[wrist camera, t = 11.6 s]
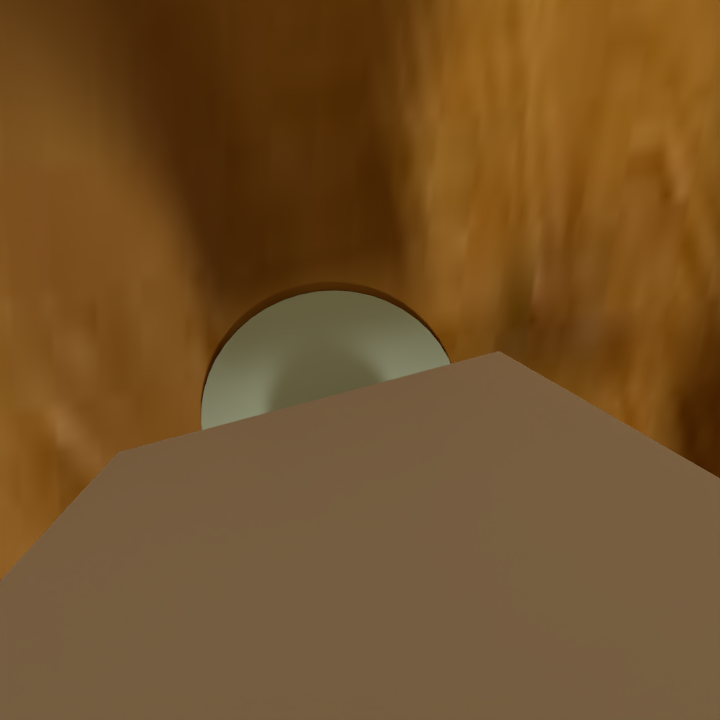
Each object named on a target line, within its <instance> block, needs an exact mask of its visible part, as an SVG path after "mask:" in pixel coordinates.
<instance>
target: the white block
mask: <svg viewBox="0 0 720 720" xmlns="http://www.w3.org/2000/svg"><path fill="white" fill-rule="evenodd" d="M0 720H720V478H718V477H717V476H715V475H713V474H711V473H710V472H708V471H706V470H705V469H703V468H701V467H699V466H698V465H696V464H694V463H692V462H691V461H689V460H687V459H685V458H684V457H682V456H680V455H679V454H677V453H675V452H673V451H672V450H670V449H668V448H666V447H665V446H663V445H661V444H659V443H658V442H656V441H654V440H653V439H651V438H649V437H647V436H646V435H644V434H642V433H640V432H639V431H637V430H635V429H633V428H632V427H630V426H628V425H626V424H625V423H623V422H621V421H620V420H618V419H616V418H614V417H613V416H611V415H609V414H607V413H606V412H604V411H602V410H600V409H599V408H597V407H595V406H594V405H592V404H590V403H588V402H587V401H585V400H583V399H581V398H580V397H578V396H576V395H574V394H573V393H571V392H569V391H567V390H566V389H564V388H562V387H561V386H559V385H557V384H555V383H554V382H552V381H550V380H548V379H547V378H545V377H543V376H541V375H540V374H538V373H536V372H535V371H533V370H531V369H529V368H528V367H526V366H524V365H522V364H521V363H519V362H517V361H515V360H514V359H512V358H510V357H508V356H507V355H505V354H503V353H502V352H500V351H497V352H494V353H490V354H486V355H482V356H479V357H475V358H471V359H467V360H464V361H460V362H456V363H452V364H449V365H445V366H441V367H437V368H434V369H430V370H426V371H422V372H418V373H415V374H411V375H407V376H403V377H400V378H396V379H392V380H388V381H385V382H381V383H377V384H373V385H370V386H366V387H362V388H358V389H355V390H351V391H347V392H343V393H340V394H336V395H332V396H328V397H324V398H321V399H317V400H313V401H309V402H306V403H302V404H298V405H294V406H291V407H287V408H283V409H279V410H276V411H272V412H268V413H264V414H261V415H257V416H253V417H249V418H245V419H242V420H238V421H234V422H230V423H227V424H223V425H219V426H215V427H212V428H208V429H204V430H200V431H197V432H193V433H189V434H185V435H182V436H178V437H174V438H170V439H167V440H163V441H159V442H155V443H151V444H148V445H144V446H140V447H136V448H133V449H129V450H125V451H121V452H118V453H117V454H116V455H115V456H114V457H113V458H112V459H111V460H110V461H109V463H108V464H107V465H106V466H105V467H104V468H103V469H102V470H101V471H100V472H99V473H98V475H97V476H96V477H95V478H94V479H93V480H92V481H91V482H90V483H89V484H88V485H87V487H86V488H85V489H84V490H83V491H82V492H81V493H80V494H79V495H78V496H77V497H76V499H75V500H74V501H73V502H72V503H71V504H70V505H69V506H68V507H67V508H66V509H65V511H64V512H63V513H62V514H61V515H60V516H59V517H58V518H57V519H56V520H55V521H54V523H53V524H52V525H51V526H50V527H49V528H48V529H47V530H46V531H45V532H44V533H43V535H42V536H41V537H40V538H39V539H38V540H37V541H36V542H35V543H34V544H33V545H32V547H31V548H30V549H29V550H28V551H27V552H26V553H25V554H24V555H23V556H22V557H21V559H20V560H19V561H18V562H17V563H16V564H15V565H14V566H13V567H12V568H11V569H10V571H9V572H8V573H7V574H6V575H5V576H4V577H3V578H2V579H1V580H0Z"/></svg>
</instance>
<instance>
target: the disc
mask: <svg viewBox="0 0 720 720" xmlns="http://www.w3.org/2000/svg"><path fill="white" fill-rule="evenodd" d="M449 364H450V361H449V359H448V357H447V355H446V353H445V352H444V350H443V348H442V347H441V345H440V344H439V342H438V341H437V340H436V339H435V337H434V336H433V335H432V334H431V332H430V331H429V330H428V329H427V328H426V327H425V326H423V325H422V324H421V323H420V322H419V321H418V320H417V319H416V318H414V317H413V316H411V315H410V314H409V313H407V312H406V311H404V310H403V309H401V308H399V307H397V306H395V305H393V304H391V303H390V302H388V301H385V300H382V299H379V298H377V297H374V296H371V295H367V294H362V293H357V292H351V291H338V290H332V291H317V292H311V293H306V294H300V295H297V296H294V297H291V298H288V299H285V300H282V301H280V302H278V303H276V304H274V305H272V306H270V307H268V308H266V309H264V310H263V311H261V312H260V313H258V314H257V315H255V316H254V317H252V318H251V319H250V320H248V321H247V322H246V323H245V324H244V325H243V326H242V327H241V328H239V329H238V330H237V331H236V333H235V334H234V335H233V336H232V337H231V338H230V339H229V341H228V342H227V343H226V344H225V346H224V347H223V349H222V350H221V352H220V353H219V355H218V356H217V358H216V360H215V362H214V364H213V366H212V368H211V370H210V373H209V375H208V378H207V382H206V385H205V388H204V393H203V400H202V407H201V424H202V430H204V429H208V428H212V427H215V426H219V425H223V424H227V423H230V422H234V421H238V420H242V419H245V418H249V417H253V416H257V415H261V414H264V413H268V412H272V411H276V410H279V409H283V408H287V407H291V406H294V405H298V404H302V403H306V402H309V401H313V400H317V399H321V398H324V397H328V396H332V395H336V394H340V393H343V392H347V391H351V390H355V389H358V388H362V387H366V386H370V385H373V384H377V383H381V382H385V381H388V380H392V379H396V378H400V377H403V376H407V375H411V374H415V373H418V372H422V371H426V370H430V369H434V368H437V367H441V366H445V365H449Z"/></svg>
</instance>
